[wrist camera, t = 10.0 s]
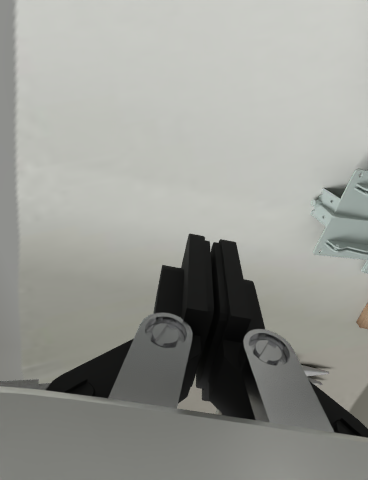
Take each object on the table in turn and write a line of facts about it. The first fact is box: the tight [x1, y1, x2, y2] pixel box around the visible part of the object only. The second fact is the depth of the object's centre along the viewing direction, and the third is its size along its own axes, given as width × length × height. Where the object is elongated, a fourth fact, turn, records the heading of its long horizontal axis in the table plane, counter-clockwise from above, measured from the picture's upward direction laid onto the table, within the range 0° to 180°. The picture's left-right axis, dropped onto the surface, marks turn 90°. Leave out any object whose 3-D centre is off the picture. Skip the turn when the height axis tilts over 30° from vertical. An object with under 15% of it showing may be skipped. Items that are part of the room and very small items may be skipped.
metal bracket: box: [311, 169, 368, 273], centre depth 42 cm, size 14×6×15 cm
